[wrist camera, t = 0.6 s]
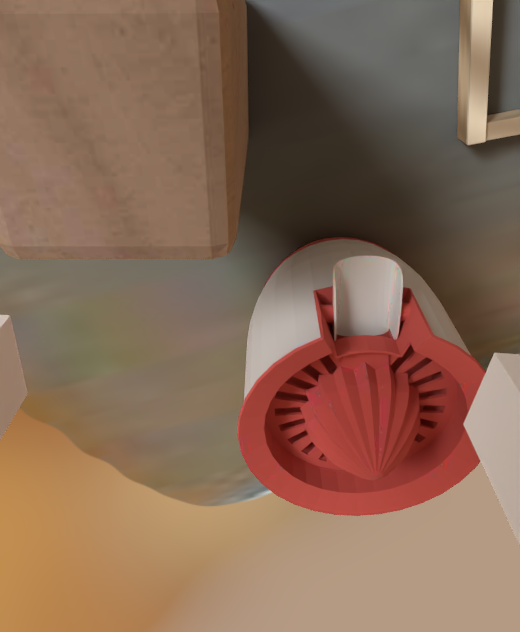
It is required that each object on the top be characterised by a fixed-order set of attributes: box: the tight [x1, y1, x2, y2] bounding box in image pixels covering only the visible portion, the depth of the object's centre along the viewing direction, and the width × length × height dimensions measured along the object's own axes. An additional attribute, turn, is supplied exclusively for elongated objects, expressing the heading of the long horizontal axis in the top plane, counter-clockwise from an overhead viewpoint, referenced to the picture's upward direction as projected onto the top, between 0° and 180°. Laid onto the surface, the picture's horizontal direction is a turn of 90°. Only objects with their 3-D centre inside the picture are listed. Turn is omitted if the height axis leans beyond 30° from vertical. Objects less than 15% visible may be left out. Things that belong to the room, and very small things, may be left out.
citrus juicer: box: [238, 237, 486, 516], centre depth 35 cm, size 16×17×20 cm
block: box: [0, 0, 249, 259], centre depth 26 cm, size 10×10×20 cm
